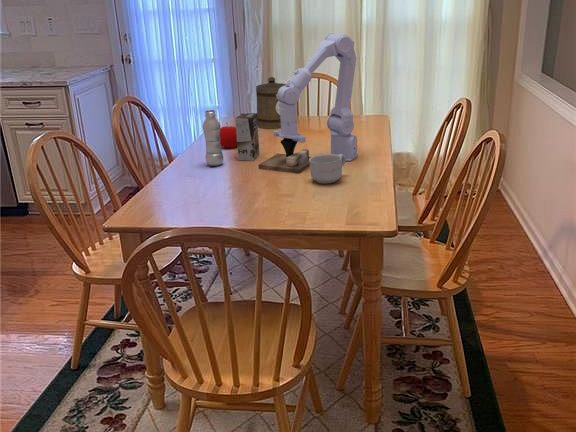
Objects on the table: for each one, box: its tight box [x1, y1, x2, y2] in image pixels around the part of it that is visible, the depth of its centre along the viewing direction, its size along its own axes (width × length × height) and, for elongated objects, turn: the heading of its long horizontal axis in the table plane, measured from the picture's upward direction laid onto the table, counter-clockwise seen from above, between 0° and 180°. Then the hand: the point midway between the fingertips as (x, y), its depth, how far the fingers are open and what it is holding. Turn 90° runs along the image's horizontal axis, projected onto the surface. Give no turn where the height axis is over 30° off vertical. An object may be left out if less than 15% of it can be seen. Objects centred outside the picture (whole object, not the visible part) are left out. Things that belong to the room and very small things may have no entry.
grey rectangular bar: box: [286, 148, 310, 166], centre depth 203 cm, size 12×3×3 cm, turn 150°
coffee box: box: [235, 112, 261, 162], centre depth 214 cm, size 9×6×16 cm
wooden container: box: [255, 76, 286, 130], centre depth 260 cm, size 15×15×22 cm
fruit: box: [220, 122, 237, 149], centre depth 230 cm, size 9×9×10 cm
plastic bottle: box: [202, 109, 224, 167], centre depth 206 cm, size 6×7×20 cm
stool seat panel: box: [258, 153, 312, 174], centre depth 205 cm, size 16×15×4 cm
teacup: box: [309, 153, 347, 184], centre depth 188 cm, size 14×11×8 cm
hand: (290, 158), depth 203 cm, fingers closed, pressing on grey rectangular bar
